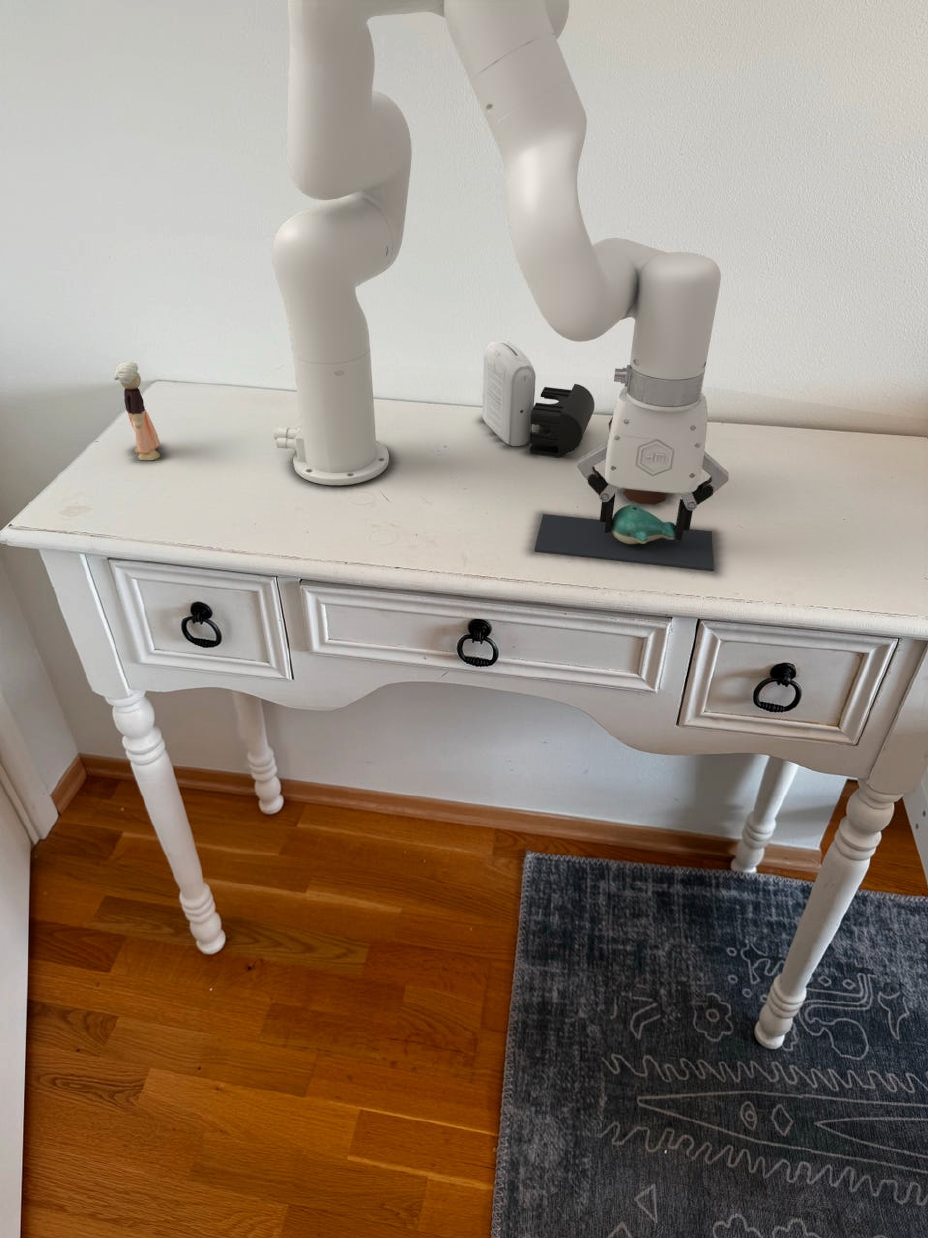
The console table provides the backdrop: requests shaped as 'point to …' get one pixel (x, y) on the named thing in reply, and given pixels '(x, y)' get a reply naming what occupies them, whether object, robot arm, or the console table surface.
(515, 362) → the photo printer
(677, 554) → the plate
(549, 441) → the end cap
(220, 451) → the console table surface
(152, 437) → the grandmother figurine
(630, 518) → the whale figurine
